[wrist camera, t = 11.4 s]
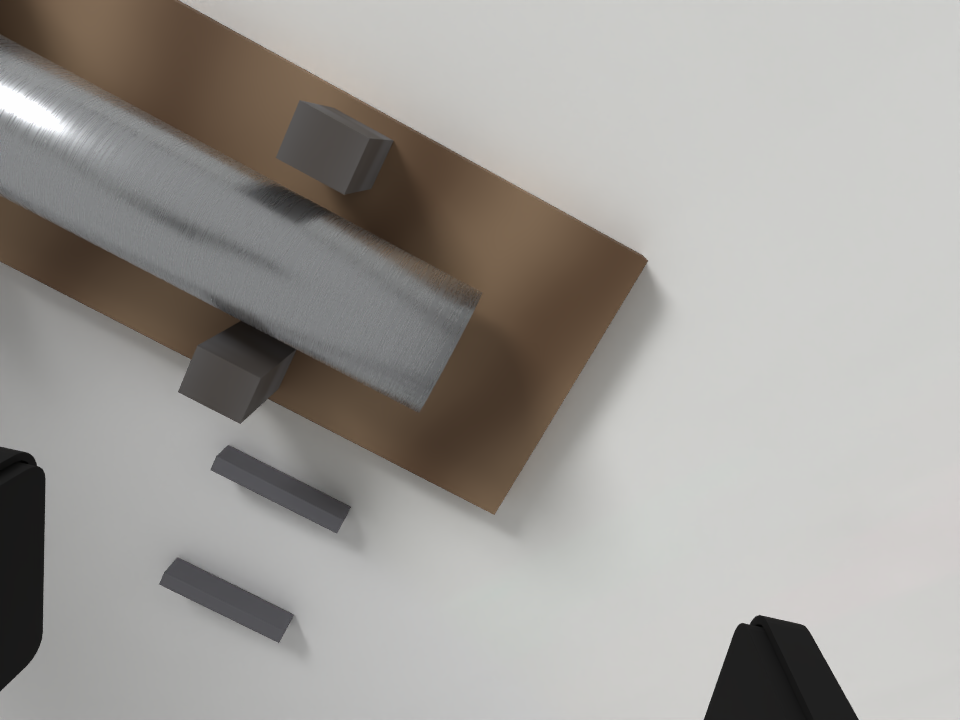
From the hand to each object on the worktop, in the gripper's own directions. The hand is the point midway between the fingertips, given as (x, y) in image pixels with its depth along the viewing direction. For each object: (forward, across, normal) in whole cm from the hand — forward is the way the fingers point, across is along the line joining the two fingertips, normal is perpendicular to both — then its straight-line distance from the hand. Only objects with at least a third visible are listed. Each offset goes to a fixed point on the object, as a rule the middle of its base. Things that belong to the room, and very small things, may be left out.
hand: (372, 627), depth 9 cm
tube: (+14, +12, -4) cm, 19 cm away
